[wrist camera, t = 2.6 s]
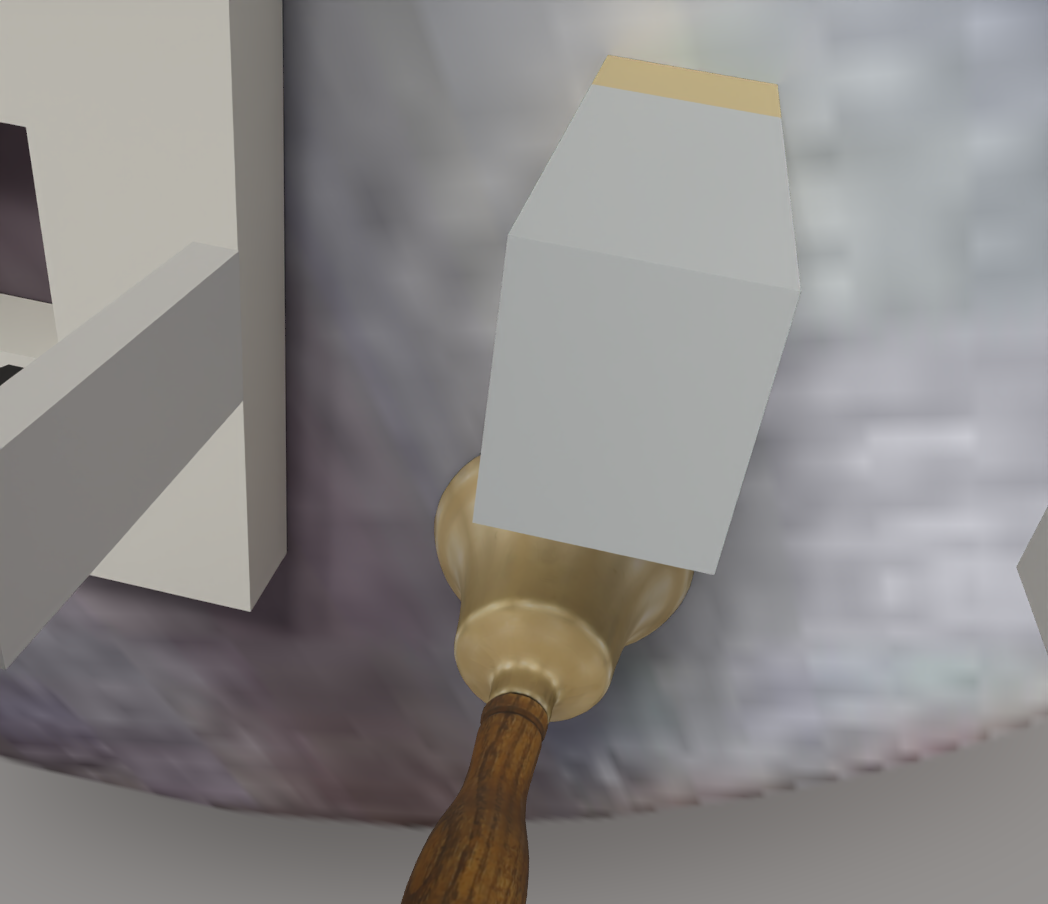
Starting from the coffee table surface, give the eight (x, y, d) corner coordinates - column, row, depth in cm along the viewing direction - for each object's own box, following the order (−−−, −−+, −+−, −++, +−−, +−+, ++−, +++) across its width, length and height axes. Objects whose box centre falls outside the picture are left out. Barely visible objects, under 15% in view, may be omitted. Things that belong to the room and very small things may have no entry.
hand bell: (433, 621, 35) (239, 1126, 21) (437, 415, 30) (194, 896, 17) (674, 665, 34) (627, 1222, 20) (716, 459, 29) (691, 1005, 16)
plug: (608, 54, 24) (507, 235, 14) (777, 84, 23) (801, 291, 13) (575, 253, 26) (472, 522, 16) (726, 282, 26) (714, 575, 16)
